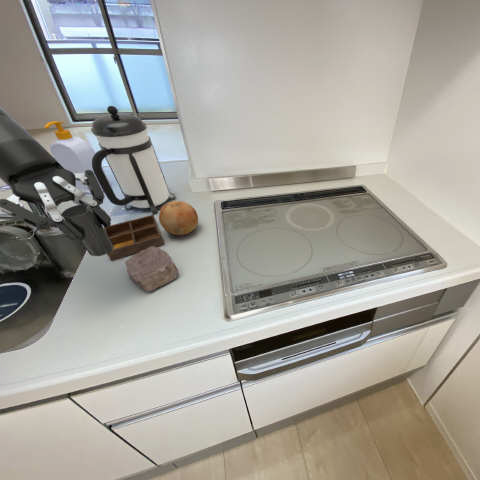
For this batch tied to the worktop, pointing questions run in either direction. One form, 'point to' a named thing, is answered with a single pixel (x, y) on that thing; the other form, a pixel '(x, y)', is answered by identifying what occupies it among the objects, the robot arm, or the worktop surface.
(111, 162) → the coffee press
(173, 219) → the onion
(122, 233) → the brown compartment tray
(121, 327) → the worktop surface
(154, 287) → the stone
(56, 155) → the soap bottle
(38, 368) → the worktop surface
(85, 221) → the dark grey cylinder
